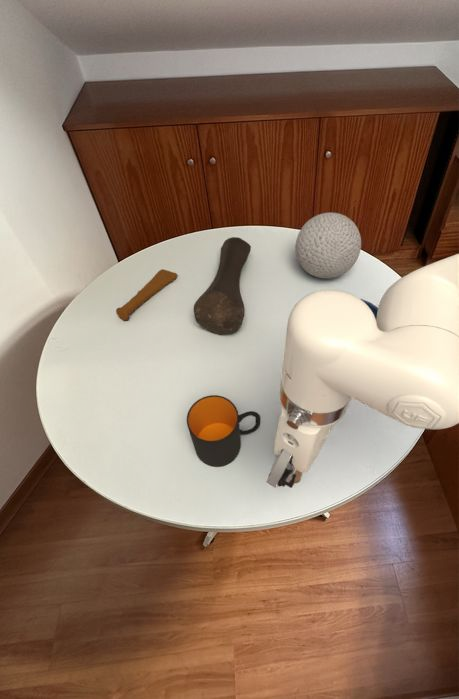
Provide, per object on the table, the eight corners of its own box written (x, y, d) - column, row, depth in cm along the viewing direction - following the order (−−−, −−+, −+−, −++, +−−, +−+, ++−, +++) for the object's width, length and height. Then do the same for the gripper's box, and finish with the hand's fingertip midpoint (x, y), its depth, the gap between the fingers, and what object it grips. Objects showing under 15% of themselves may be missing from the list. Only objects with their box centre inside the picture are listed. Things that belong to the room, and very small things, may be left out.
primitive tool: (162, 270, 97) (159, 259, 94) (179, 275, 95) (177, 265, 92) (116, 318, 87) (111, 308, 84) (134, 326, 85) (130, 316, 82)
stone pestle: (228, 347, 82) (243, 276, 102) (250, 317, 75) (262, 246, 94) (183, 327, 80) (208, 258, 99) (202, 293, 73) (224, 226, 92)
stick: (303, 475, 62) (313, 440, 51) (297, 485, 61) (306, 452, 50) (292, 469, 63) (300, 433, 52) (286, 478, 62) (293, 444, 51)
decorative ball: (287, 256, 98) (291, 203, 86) (343, 249, 98) (354, 196, 86) (301, 294, 88) (307, 242, 76) (362, 287, 89) (378, 233, 77)
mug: (266, 454, 64) (268, 428, 56) (199, 472, 63) (191, 448, 55) (253, 414, 69) (253, 384, 61) (191, 429, 68) (182, 401, 60)
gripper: (309, 475, 34) (293, 520, 48) (377, 352, 43) (347, 420, 56) (242, 434, 37) (244, 488, 51) (319, 326, 46) (303, 396, 59)
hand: (298, 452), depth 54 cm, fingers open, 9 cm apart
